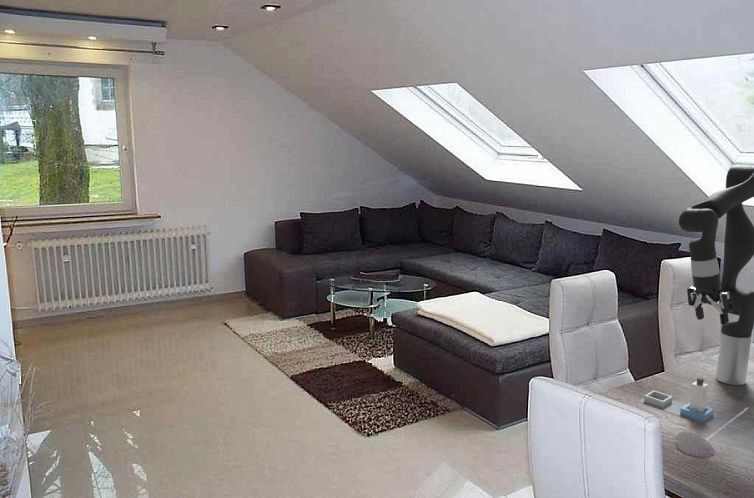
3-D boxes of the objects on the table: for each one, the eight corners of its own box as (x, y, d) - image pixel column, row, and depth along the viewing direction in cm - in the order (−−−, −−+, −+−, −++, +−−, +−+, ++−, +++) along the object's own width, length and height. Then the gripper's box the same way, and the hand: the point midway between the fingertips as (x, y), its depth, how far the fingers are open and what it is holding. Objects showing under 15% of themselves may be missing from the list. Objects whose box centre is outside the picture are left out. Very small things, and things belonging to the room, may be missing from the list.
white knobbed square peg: (688, 414, 190) (692, 378, 188) (693, 411, 192) (696, 376, 190) (699, 418, 188) (703, 382, 185) (704, 414, 190) (708, 379, 187)
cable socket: (637, 403, 199) (638, 393, 199) (650, 395, 205) (651, 385, 205) (705, 426, 184) (706, 415, 183) (717, 417, 190) (719, 406, 189)
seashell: (687, 425, 179) (721, 432, 170) (689, 444, 179) (723, 452, 170) (665, 433, 174) (699, 441, 165) (667, 452, 174) (700, 461, 165)
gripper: (735, 271, 184) (741, 322, 187) (694, 266, 198) (701, 313, 201) (716, 278, 182) (723, 330, 185) (677, 272, 195) (684, 320, 198)
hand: (712, 321), depth 193 cm, fingers open, 8 cm apart
